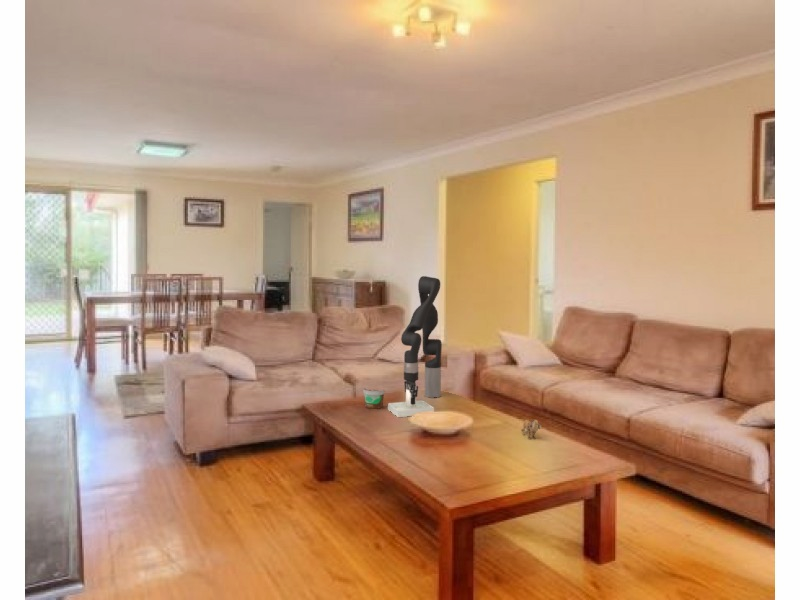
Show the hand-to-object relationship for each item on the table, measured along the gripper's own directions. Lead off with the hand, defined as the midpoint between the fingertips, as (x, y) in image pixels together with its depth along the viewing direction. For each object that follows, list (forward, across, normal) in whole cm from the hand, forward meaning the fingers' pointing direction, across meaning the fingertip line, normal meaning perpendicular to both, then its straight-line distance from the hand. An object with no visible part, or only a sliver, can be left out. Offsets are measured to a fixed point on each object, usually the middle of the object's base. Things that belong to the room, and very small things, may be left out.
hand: (410, 402), depth 289 cm
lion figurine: (+5, +55, +36) cm, 66 cm away
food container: (+5, -13, -17) cm, 22 cm away
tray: (+5, 0, 0) cm, 5 cm away
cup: (+2, 0, 0) cm, 2 cm away
